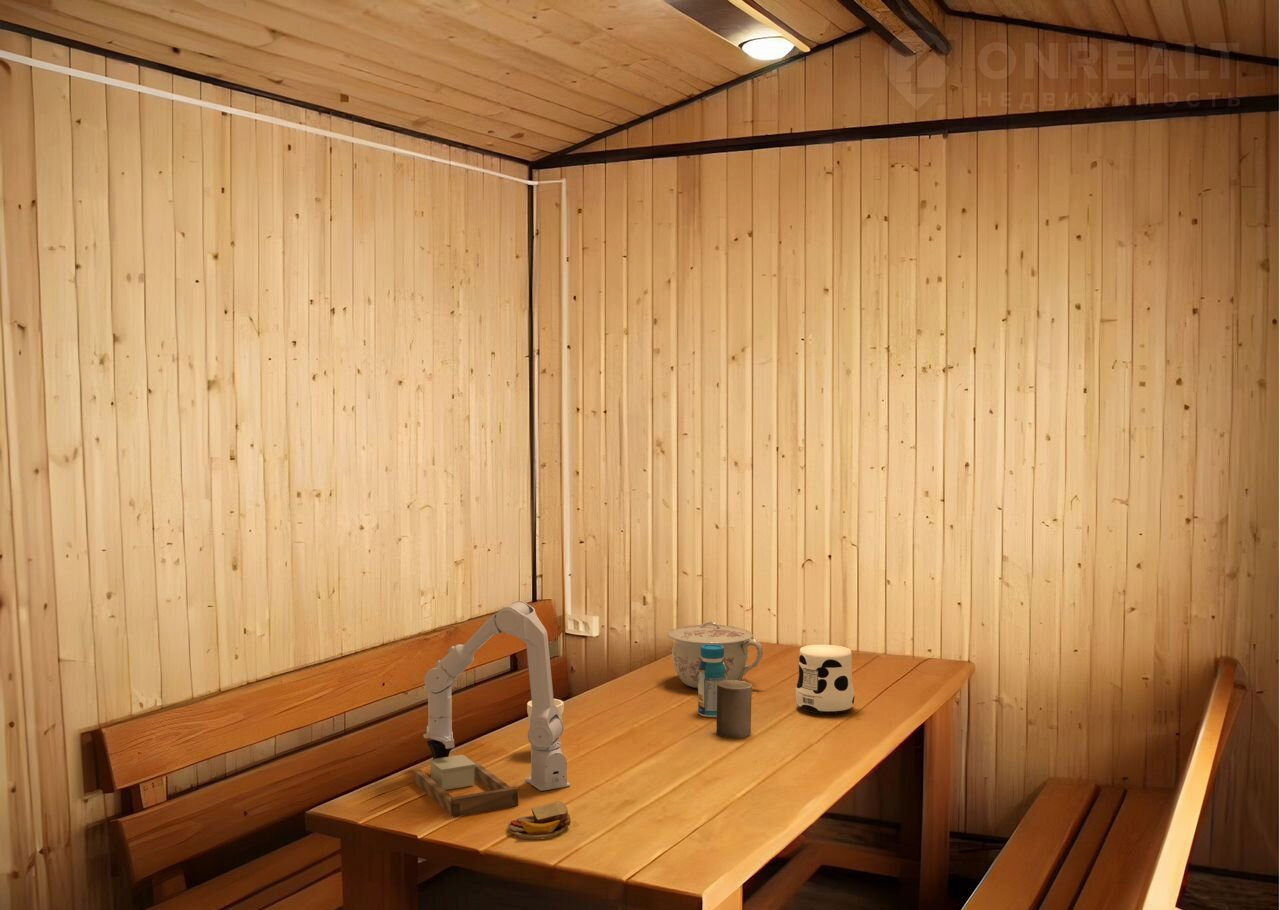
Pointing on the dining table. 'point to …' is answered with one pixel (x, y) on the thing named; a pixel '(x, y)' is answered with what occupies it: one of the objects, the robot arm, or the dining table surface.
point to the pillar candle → (734, 708)
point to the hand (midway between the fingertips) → (440, 769)
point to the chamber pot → (729, 637)
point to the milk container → (825, 679)
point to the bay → (471, 803)
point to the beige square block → (452, 771)
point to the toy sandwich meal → (541, 822)
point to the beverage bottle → (710, 678)
